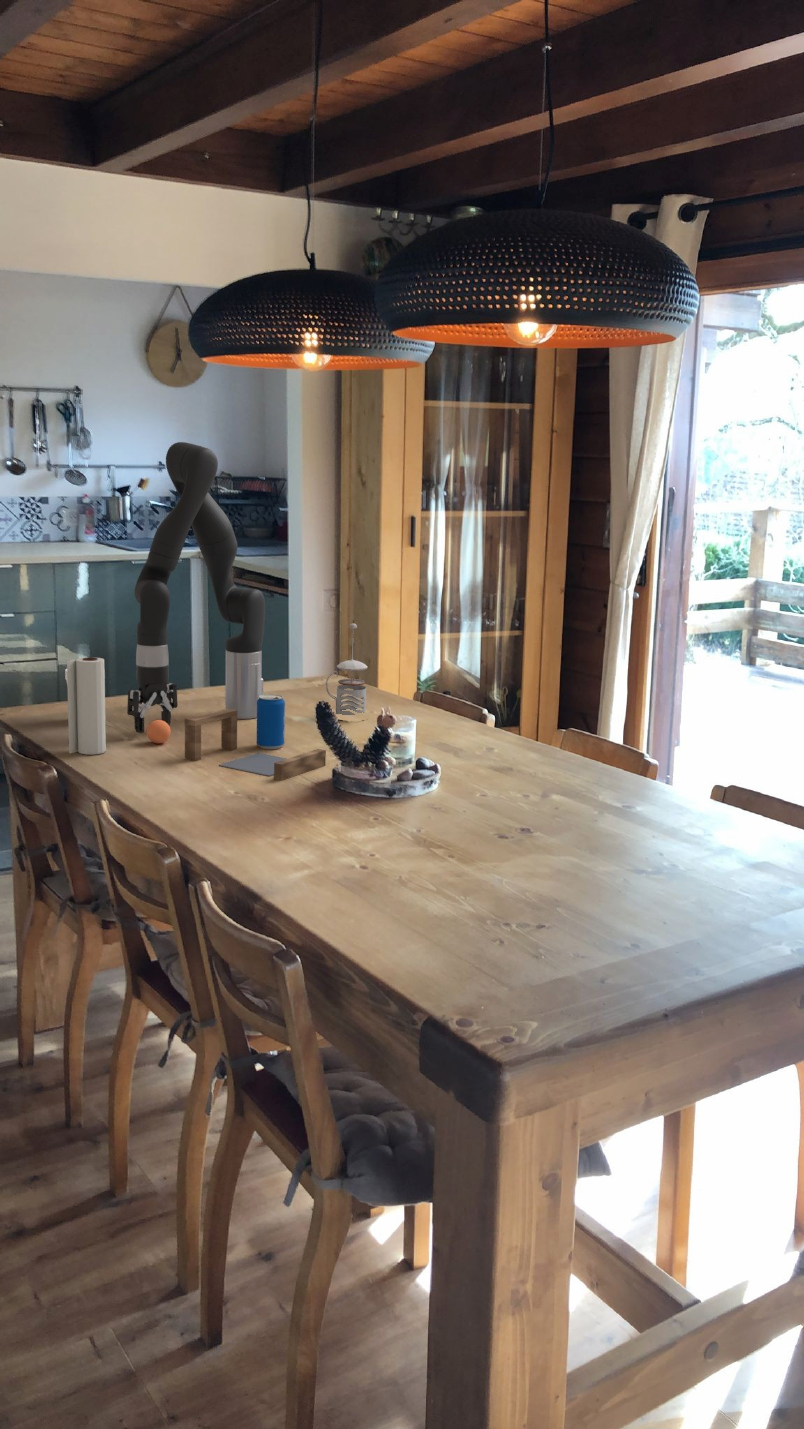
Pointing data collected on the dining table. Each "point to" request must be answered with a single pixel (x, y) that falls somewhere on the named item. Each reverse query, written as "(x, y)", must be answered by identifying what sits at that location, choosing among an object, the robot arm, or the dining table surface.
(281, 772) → the stopper
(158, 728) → the ball
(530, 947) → the dining table surface
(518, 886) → the dining table surface
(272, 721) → the beverage can
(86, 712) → the paper towel roll
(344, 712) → the french press
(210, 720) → the bridge
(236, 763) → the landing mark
